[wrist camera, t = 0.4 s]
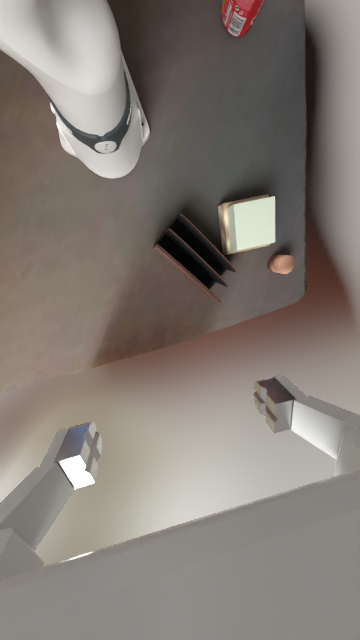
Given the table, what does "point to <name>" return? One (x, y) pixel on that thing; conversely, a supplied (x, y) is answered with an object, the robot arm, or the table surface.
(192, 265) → the letter holder
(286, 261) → the tan rounded cylinder
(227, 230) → the maple base block
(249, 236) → the sage top block
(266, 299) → the table surface
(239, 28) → the soda can
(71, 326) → the table surface
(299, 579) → the robot arm
